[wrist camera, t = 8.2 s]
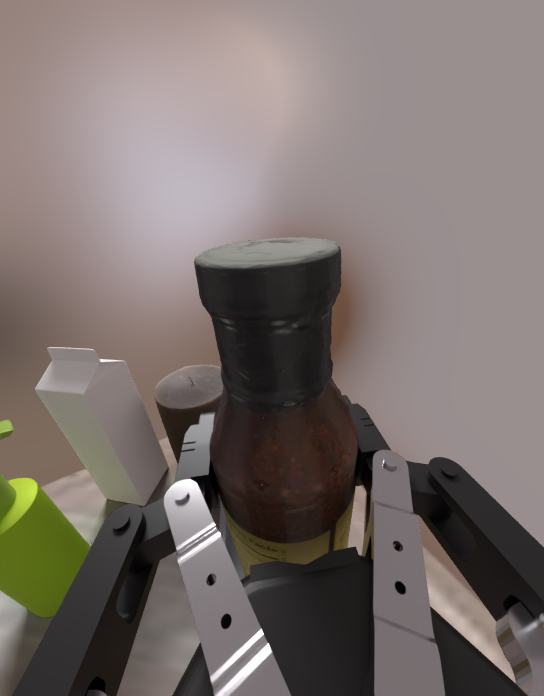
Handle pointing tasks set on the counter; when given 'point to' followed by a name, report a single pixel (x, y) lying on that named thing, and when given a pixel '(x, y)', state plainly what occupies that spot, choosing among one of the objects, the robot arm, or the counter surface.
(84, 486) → the counter surface
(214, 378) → the pillar candle
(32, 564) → the soap dispenser
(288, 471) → the sauce bottle
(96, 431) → the milk
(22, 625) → the counter surface
